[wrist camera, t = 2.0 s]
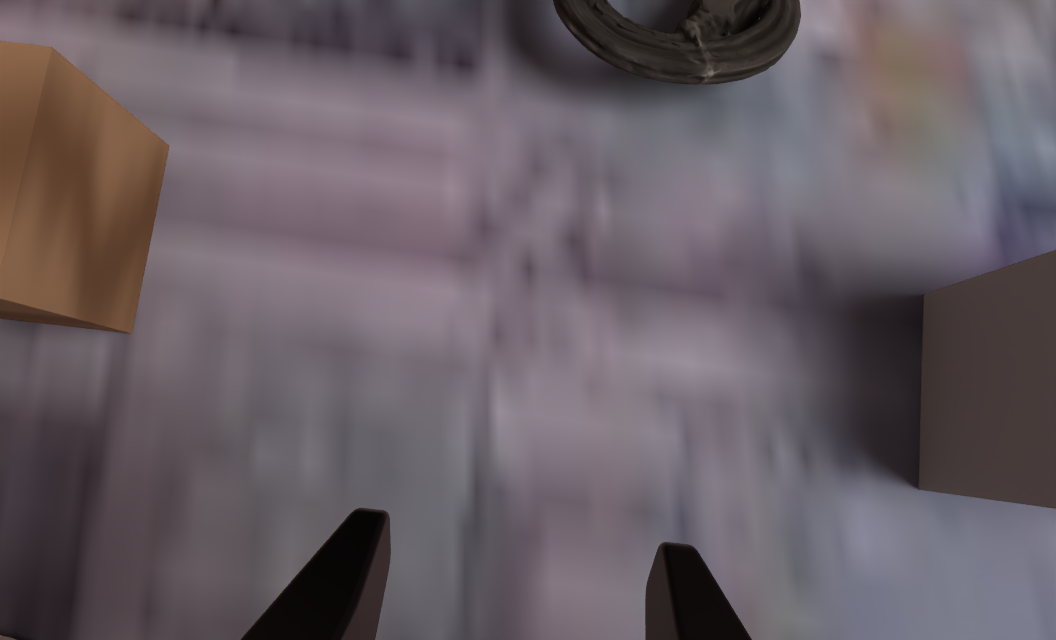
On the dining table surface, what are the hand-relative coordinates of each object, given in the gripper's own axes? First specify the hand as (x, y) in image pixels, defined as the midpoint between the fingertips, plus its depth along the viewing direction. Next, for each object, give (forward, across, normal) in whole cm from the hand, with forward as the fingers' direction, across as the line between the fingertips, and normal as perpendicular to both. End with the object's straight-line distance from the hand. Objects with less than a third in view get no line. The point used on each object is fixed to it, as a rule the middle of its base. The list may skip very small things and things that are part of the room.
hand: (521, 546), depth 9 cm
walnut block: (+13, +15, +5) cm, 21 cm away
